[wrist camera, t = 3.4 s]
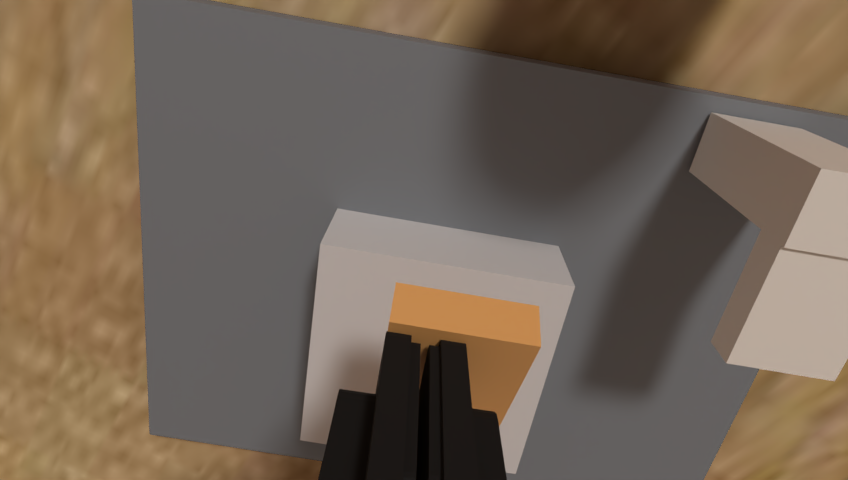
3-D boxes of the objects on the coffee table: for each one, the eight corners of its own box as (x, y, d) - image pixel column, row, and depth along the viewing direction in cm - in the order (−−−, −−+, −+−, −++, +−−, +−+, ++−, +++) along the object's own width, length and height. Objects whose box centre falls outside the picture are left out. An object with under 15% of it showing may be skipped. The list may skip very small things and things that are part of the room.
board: (857, 118, 20) (1034, 178, 14) (671, 503, 27) (733, 648, 21) (150, -11, 19) (13, -6, 13) (162, 423, 26) (79, 551, 21)
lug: (801, 128, 19) (948, 191, 13) (735, 277, 21) (837, 383, 15) (711, 112, 18) (821, 168, 13) (654, 263, 21) (728, 365, 15)
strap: (539, 305, 12) (541, 346, 11) (435, 524, 22) (433, 553, 21) (396, 281, 12) (389, 321, 11) (357, 512, 22) (352, 541, 21)
